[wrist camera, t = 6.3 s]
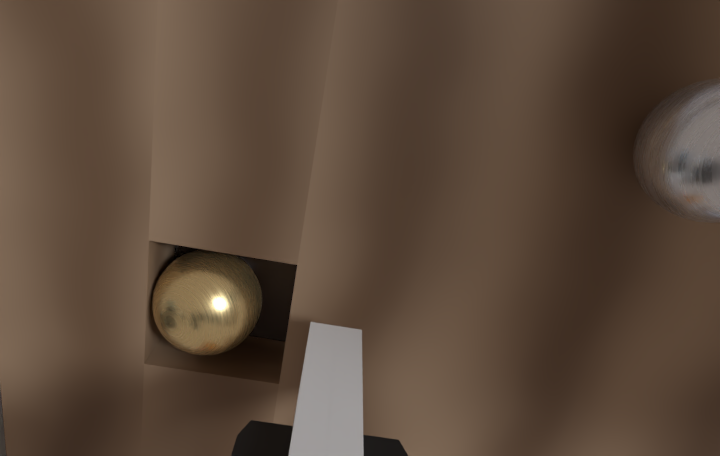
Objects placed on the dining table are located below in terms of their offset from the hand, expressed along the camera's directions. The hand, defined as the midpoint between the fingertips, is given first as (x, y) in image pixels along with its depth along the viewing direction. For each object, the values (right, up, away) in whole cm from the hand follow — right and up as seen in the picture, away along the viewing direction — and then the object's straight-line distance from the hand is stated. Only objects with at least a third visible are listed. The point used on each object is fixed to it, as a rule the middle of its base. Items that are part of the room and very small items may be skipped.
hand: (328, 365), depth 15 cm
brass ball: (-4, +2, +2) cm, 5 cm away
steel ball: (+10, +6, -2) cm, 12 cm away
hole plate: (+2, +1, +4) cm, 5 cm away
